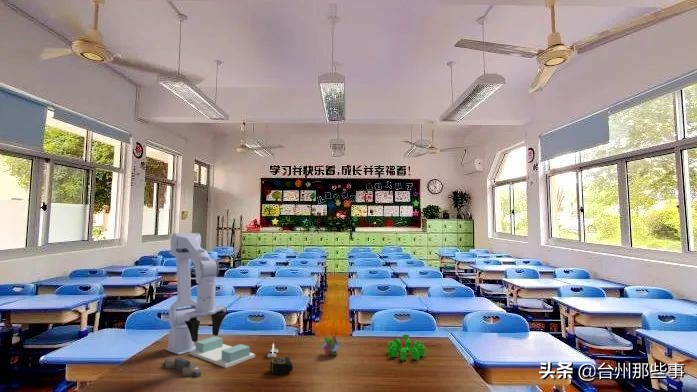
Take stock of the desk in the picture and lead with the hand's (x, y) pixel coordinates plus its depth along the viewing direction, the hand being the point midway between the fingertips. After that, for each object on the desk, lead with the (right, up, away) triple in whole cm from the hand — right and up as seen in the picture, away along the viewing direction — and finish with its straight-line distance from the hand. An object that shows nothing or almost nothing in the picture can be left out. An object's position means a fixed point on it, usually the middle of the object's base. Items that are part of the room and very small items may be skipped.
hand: (205, 338), depth 118 cm
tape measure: (+26, -10, -3) cm, 28 cm away
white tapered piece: (+20, -11, +7) cm, 24 cm away
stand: (+2, -11, +10) cm, 15 cm away
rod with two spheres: (-7, -10, -2) cm, 12 cm away
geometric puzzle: (+41, -10, +10) cm, 44 cm away
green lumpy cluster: (+68, -11, +10) cm, 70 cm away
